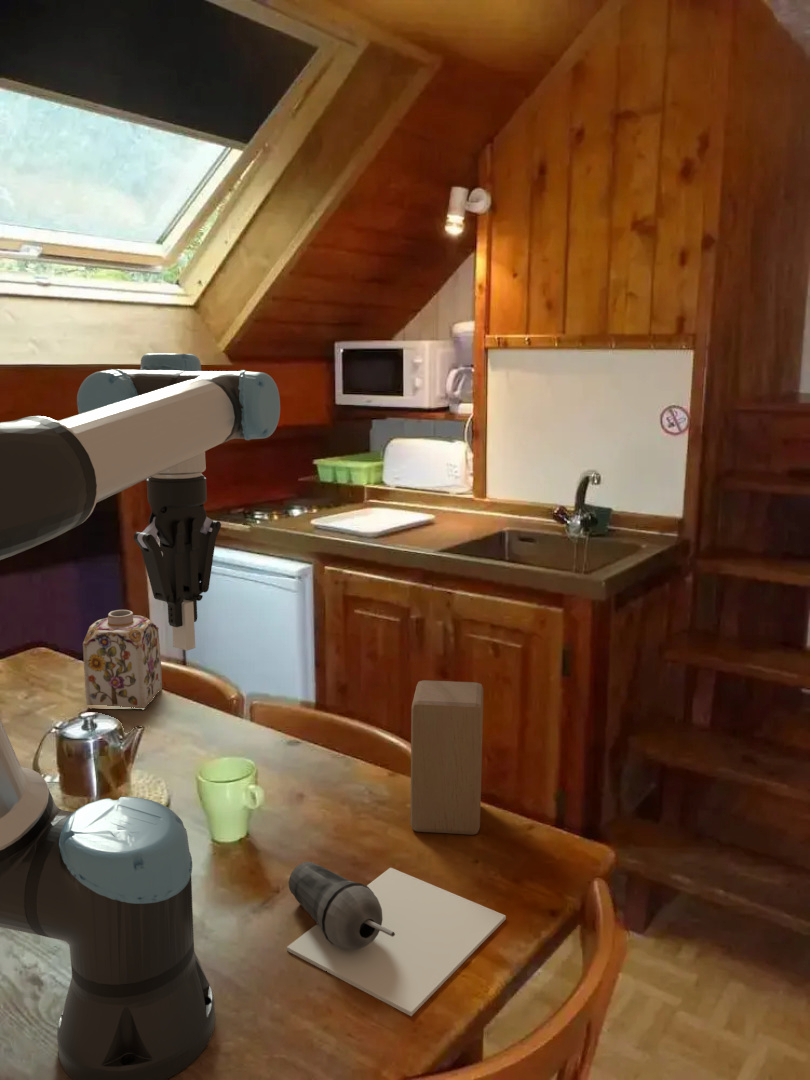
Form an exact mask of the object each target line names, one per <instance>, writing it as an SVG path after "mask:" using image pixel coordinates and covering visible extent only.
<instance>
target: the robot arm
mask: <svg viewBox="0 0 810 1080" xmlns="http://www.w3.org/2000/svg"><path fill="white" fill-rule="evenodd" d="M76 405H77V412H78V414H75V415H73V416H72V415H71V416H69V417H65V418H63V419H59V420H56V419H53V418H51V417H47V416H44V415H43V416H41V415H33V416H32V415H30V416H25V417H22V418H18V419H15V420H11V421H10V420H9V421H1V422H0V561H1V560H4V559H6V558H9V557H12V556H15V555H17V554H19V553H22V552H25V551H27V550H30V549H32V548H34V547H36V546H39V545H41V544H43V543H45V542H48V541H50V540H52V539H54V538H57V537H59V536H61V535H63V534H64V533H66V532H68V531H71V530H72V529H75V528H77V527H78V526H80V525H81V524H83V523H84V522H86V521H87V519H88V518H89V517H90V516H91V515H92V513H93V512H94V509H95V507H96V504H97V503H99V502H101V501H103V500H106V499H107V498H109V497H112V496H114V495H116V494H119V493H120V492H123V491H124V490H127V489H129V488H131V487H133V486H136V485H137V484H140V483H141V482H143V481H146V490H147V491H146V493H147V503H148V504H149V506H150V510H151V511H150V516H149V518H148V525H147V526H146V527H145V529H144V530H143V531H142V532H140V531H136V532H135V533H134V535H133V540H134V541H135V543H136V545H137V546H138V547H139V549H140V551H141V554H142V558H143V562H144V565H145V569H146V572H147V576H148V580H149V581H148V582H149V584H150V587H151V591H152V596H153V598H154V599H155V600H157V601H161V602H165V603H166V604H167V617H168V618H167V619H168V624H169V625H168V626H170V627H172V643H173V644H172V645H173V648H177V649H179V650H184V651H186V652H187V651H190V650H192V649H195V648H196V635H195V623H196V622H197V621H198V602H199V601H200V602H201V601H202V599H203V598H204V597H203V595H202V593H207V592H208V591H209V589H210V581H211V575H212V569H213V561H214V555H215V546H216V539H217V536H218V534H219V532H220V530H221V526H222V523H221V522H220V521H218V520H213V519H211V518H210V517H208V516H207V515H208V514H207V511H206V509H205V506H204V505H205V503H206V502H207V501H208V498H207V497H208V496H207V495H208V492H207V477H205V475H203V472H205V471H206V469H207V467H206V464H207V462H206V452H207V451H208V450H210V449H212V448H215V447H217V446H219V445H222V444H224V443H226V442H228V441H230V440H234V439H235V440H236V439H238V440H239V439H241V440H243V439H244V440H245V441H250V440H260V439H268V438H269V437H271V435H273V433H274V432H275V431H276V429H277V426H278V424H279V421H280V415H281V398H280V392H279V388H278V385H277V383H276V382H275V380H274V379H273V377H272V376H271V375H269V374H268V373H266V372H262V371H261V372H260V371H247V370H245V369H240V370H238V371H237V370H228V371H226V370H222V371H221V370H219V371H217V370H214V371H213V370H209V371H208V370H202V365H201V360H200V358H199V357H198V356H197V355H195V354H193V353H145V354H144V355H142V356H141V358H140V369H119V368H117V369H114V368H113V369H112V368H109V369H106V370H100V371H96V372H93V373H91V374H90V375H88V376H87V377H86V378H84V380H83V381H82V382H81V384H80V387H79V388H78V391H77V395H76ZM3 724H4V723H3V722H2V719H1V718H0V928H1V929H7V930H12V931H16V932H22V933H27V934H30V935H31V934H32V935H36V936H41V937H45V938H50V939H53V940H60V941H64V942H66V943H67V944H68V946H69V955H70V965H71V966H70V969H71V978H70V983H69V987H68V990H67V995H66V997H65V998H66V999H65V1003H64V1007H63V1009H62V1011H61V1015H60V1018H59V1021H58V1023H57V1032H56V1034H57V1035H56V1037H57V1049H58V1060H59V1061H60V1064H61V1067H62V1069H63V1070H64V1072H65V1074H67V1075H68V1076H69V1078H71V1079H72V1080H168V1079H170V1078H171V1077H173V1076H175V1075H177V1074H179V1073H180V1072H181V1071H183V1070H184V1069H186V1068H187V1067H189V1066H190V1065H191V1064H192V1063H194V1062H195V1060H196V1059H198V1058H199V1056H200V1055H201V1054H202V1053H203V1051H204V1050H205V1049H206V1047H208V1044H209V1042H210V1041H211V1038H212V1036H213V1034H214V1029H215V1023H216V1013H215V997H214V993H213V989H212V987H211V985H210V983H209V980H208V979H207V975H206V974H205V972H204V970H203V967H202V965H201V963H200V960H199V959H198V956H197V954H196V952H195V941H194V939H195V937H194V935H195V934H194V916H193V915H194V912H193V885H192V872H193V858H192V854H191V852H190V851H191V850H190V845H189V844H190V843H189V837H188V831H187V829H186V827H185V825H184V822H183V820H182V818H180V817H179V815H178V814H177V813H176V812H174V811H173V810H172V809H171V808H170V807H168V806H166V805H164V804H161V803H160V802H157V801H154V800H152V799H149V798H144V797H137V796H136V797H135V796H120V797H119V798H118V799H112V798H110V797H107V798H102V799H98V800H95V801H91V802H88V803H87V804H86V803H85V804H84V805H82V806H81V807H79V808H77V809H75V811H70V810H65V809H61V808H59V807H58V806H57V805H56V803H55V800H54V798H53V795H52V793H51V790H50V787H49V786H48V784H47V782H46V779H45V778H44V776H42V775H41V774H40V773H39V772H38V771H35V770H34V769H31V768H28V767H23V766H21V764H20V761H19V759H18V756H17V755H16V752H15V750H14V748H13V745H12V743H11V741H10V738H9V736H8V734H7V733H8V732H7V730H6V728H5V726H4V725H3Z"/></svg>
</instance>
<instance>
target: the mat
mask: <svg viewBox="0 0 810 1080" xmlns="http://www.w3.org/2000/svg"><path fill="white" fill-rule="evenodd" d="M366 886H368V887H369V888H370V889H371V891H372V892H373V893H374V895H375V896H376V897H377V899H378V901H379V903H380V906H381V908H382V918H383V920H382V925H381V926H383V927H385V928H387V929H389V930H391V931H393V932H394V933H395V935H394V936H393V937H392V936H390V935H388V934H386V933H384V932H382V931H379V933H378V935H377V937H376V938H375V939H374V940H373V941H372V942H371V943H370V944H369V945H367V946H366V947H363V948H361V949H357V950H347V949H344V948H341V947H338V946H336V945H333V944H331V943H330V942H329V941H328V940H327V939H326V937H325V935H324V933H323V931H322V930H321V928H320V926H319V925H318V923H317V922H316V924H315V925H314V926H312V927H311V928H309V930H307V931H306V932H304V933H303V934H301V936H299V937H298V938H296V939H295V940H294V941H292V942H291V943H289V945H287V946H286V951H287V952H288V953H291V954H292V955H294V956H296V957H298V958H300V959H302V960H304V961H306V962H308V963H309V964H311V965H313V966H315V967H317V968H319V969H320V970H323V971H324V972H326V971H327V972H326V973H328V974H331V975H332V976H334V977H336V978H337V979H340V980H341V981H344V982H345V983H347V984H349V985H351V986H353V987H354V988H356V989H358V990H360V991H362V992H364V993H366V994H368V995H370V996H372V997H373V998H375V999H377V1000H379V1001H381V1002H383V1003H385V1004H387V1005H388V1006H391V1007H393V1008H395V1009H397V1010H398V1011H400V1012H402V1013H404V1014H406V1015H408V1016H410V1017H413V1015H414V1014H415V1013H416V1012H417V1011H418V1010H419V1009H420V1008H421V1007H422V1006H423V1005H424V1004H425V1003H426V1002H427V1001H428V1000H429V999H430V997H432V996H433V995H434V993H435V992H436V991H438V990H439V988H441V987H442V986H443V984H444V983H445V982H446V981H447V980H448V979H449V978H450V977H451V976H452V975H454V973H455V972H456V971H457V970H458V969H459V968H460V967H461V966H462V965H463V964H464V963H465V962H466V960H468V958H470V957H471V956H472V954H473V953H475V951H476V950H478V948H480V946H481V945H482V944H483V943H484V942H486V940H487V939H488V938H489V937H490V936H491V935H492V934H493V933H494V932H495V931H496V930H497V929H498V928H499V927H500V926H501V925H502V923H504V922H505V920H506V918H507V916H506V915H505V914H503V913H500V912H498V911H495V910H494V909H492V908H488V907H486V906H483V905H482V904H479V903H477V902H475V901H472V900H469V899H468V898H465V897H463V896H460V895H458V894H455V893H452V892H450V891H448V890H446V889H444V888H440V887H438V886H436V885H434V884H431V883H429V882H427V881H424V880H422V879H419V878H417V877H414V876H412V875H410V874H407V873H405V872H403V871H400V870H397V869H395V868H393V867H389V868H388V869H387V870H385V871H384V872H383V873H381V874H380V875H379V876H378V877H376V878H375V879H373V880H372V881H371V882H370V883H368V884H367V885H366Z"/></svg>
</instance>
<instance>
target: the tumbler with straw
mask: <svg viewBox="0 0 810 1080" xmlns="http://www.w3.org/2000/svg"><path fill="white" fill-rule="evenodd" d="M288 888H289V891H290V893H291V894H292V895H293V896H294V899H295V900H296V902H298V904H300V905H301V907H302V908H303V909H304V910H305V911H306V912H307V913H308V914H309V915H310V916H311V918H312V919H313V920H314V921H315V923H316V924H317V923H318V925H319V926H320V928H321V930H322V931H323V933H324V935H325V937H326V939H327V940H328V941H329V942H330V943H331V944H333V945H336V946H338V947H341V948H344V949H347V950H357V949H361V948H363V947H366V946H367V945H369V944H370V943H371V942H372V941H373V940H374V939H375V938H376V937H377V935H378V933H379V931H382V932H384V933H386V934H388V935H390V936H392V937H393V936H394V935H395V933H394V932H393V931H391V930H389V929H387V928H385V927H383V926H381V925H382V920H383V918H382V908H381V906H380V903H379V901H378V899H377V897H376V896H375V895H374V893H373V892H372V891H371V889H370V888H369V887H368V886H367V885H366V884H363V883H360V882H356V881H352V880H349V879H347V878H345V877H343V876H341V875H340V874H337V873H336V872H333V871H331V870H330V869H328V868H325V867H324V866H322V865H320V864H316V863H314V862H312V861H304V862H301V863H300V864H298V865H297V866H296V867H295V868H294V869H293V870H292V871H291V874H290V876H289V879H288Z"/></svg>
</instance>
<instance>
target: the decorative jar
mask: <svg viewBox="0 0 810 1080" xmlns="http://www.w3.org/2000/svg"><path fill="white" fill-rule="evenodd" d="M160 645H161V642H160V633H159V626H157V625H156V624H155V623H154V622H153V621H152V620H150V619H149V618H148V617H146V616H144V615H143V616H142V615H136V614H135V615H134V612H133V611H131V610H128V609H116V610H111V611H110V612H108V614H107V617H105V618H101V619H97V620H96V621H94V622H93V623H92V624H91V625H90V626H89V627H88V630H87V633H86V635H85V637H84V640H83V642H82V651H83V670H84V672H83V674H84V686H85V689H84V690H85V691H84V692H85V701H86V706H87V705H107V706H120V707H121V706H122V707H131V708H132V707H133V708H134V707H135V708H145V707H146V706H147V705H148V703H149V702H150V701H151V700H152V699H153V697H154V696H155V695H156V694H157V693H158V691H160V690H161V691H162V689H163V681H162V680H163V679H162V678H163V677H162V659H161V658H162V655H161V646H160ZM161 691H160V692H161ZM158 694H159V693H158ZM158 694H157V695H158ZM153 700H154V699H153ZM153 700H152V701H153ZM152 701H151V702H152ZM148 706H149V705H148ZM148 706H147V707H148ZM147 707H146V708H147ZM146 708H145V709H146Z"/></svg>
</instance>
